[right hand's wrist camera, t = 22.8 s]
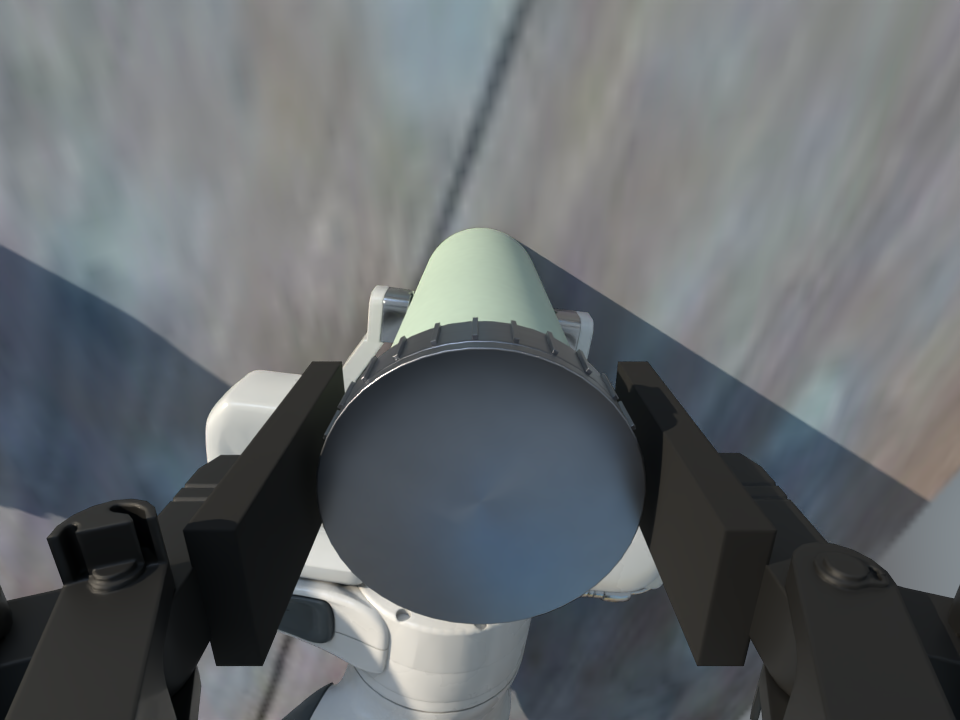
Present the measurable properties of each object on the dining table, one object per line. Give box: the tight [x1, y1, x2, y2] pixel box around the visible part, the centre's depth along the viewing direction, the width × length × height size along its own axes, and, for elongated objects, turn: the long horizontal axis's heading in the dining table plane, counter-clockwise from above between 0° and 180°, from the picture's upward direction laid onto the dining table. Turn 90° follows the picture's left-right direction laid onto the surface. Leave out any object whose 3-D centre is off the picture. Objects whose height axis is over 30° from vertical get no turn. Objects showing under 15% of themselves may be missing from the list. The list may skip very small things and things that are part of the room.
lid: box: [316, 317, 646, 624], centre depth 11 cm, size 7×7×2 cm
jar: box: [392, 228, 570, 347], centre depth 19 cm, size 6×6×17 cm
